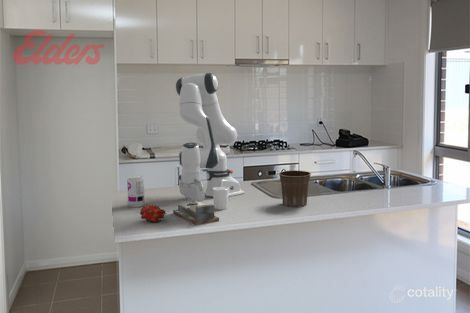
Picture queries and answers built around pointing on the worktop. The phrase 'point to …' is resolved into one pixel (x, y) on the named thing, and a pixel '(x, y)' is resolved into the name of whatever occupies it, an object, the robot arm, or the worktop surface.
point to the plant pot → (294, 187)
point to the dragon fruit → (152, 213)
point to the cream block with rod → (194, 206)
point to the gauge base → (197, 214)
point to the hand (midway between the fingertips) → (192, 207)
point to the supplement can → (136, 191)
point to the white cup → (220, 197)
